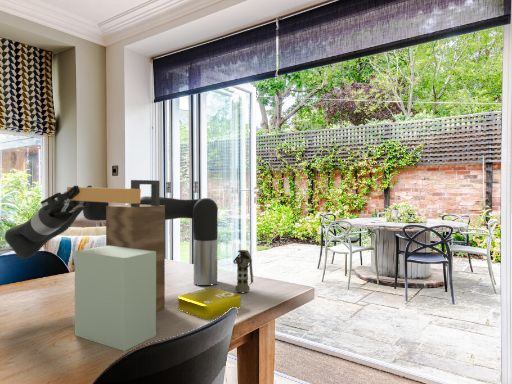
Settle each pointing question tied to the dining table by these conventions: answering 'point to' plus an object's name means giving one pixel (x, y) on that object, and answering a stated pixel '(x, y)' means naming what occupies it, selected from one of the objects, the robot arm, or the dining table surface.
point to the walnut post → (140, 236)
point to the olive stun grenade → (243, 271)
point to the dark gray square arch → (154, 191)
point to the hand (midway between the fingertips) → (84, 188)
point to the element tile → (208, 302)
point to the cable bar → (108, 195)
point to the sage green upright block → (115, 295)
